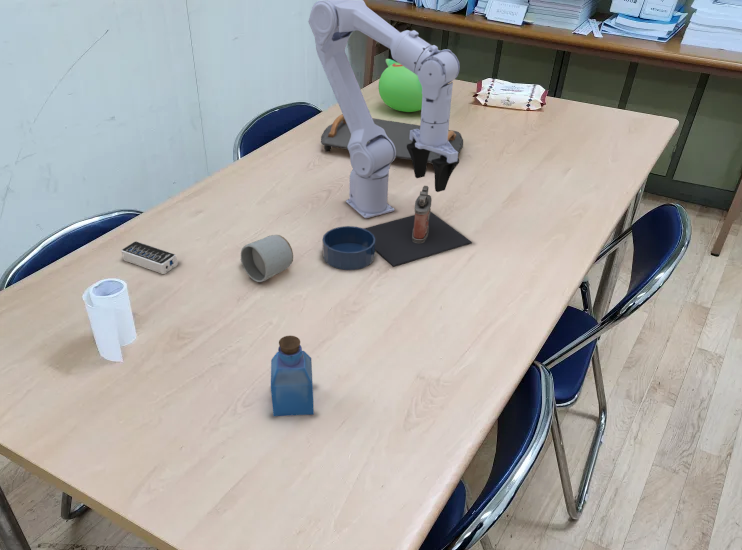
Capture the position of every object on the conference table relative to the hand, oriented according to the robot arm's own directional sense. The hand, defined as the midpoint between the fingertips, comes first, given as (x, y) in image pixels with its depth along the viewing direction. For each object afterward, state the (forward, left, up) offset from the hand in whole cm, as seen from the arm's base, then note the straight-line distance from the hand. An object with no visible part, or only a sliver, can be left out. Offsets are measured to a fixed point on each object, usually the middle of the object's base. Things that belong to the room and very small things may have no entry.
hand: (429, 183), depth 137 cm
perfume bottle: (+37, -50, -11) cm, 63 cm away
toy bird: (-64, +37, -11) cm, 75 cm away
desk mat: (+3, -5, -10) cm, 12 cm away
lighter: (+2, -3, -10) cm, 11 cm away
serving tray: (-41, +17, -11) cm, 46 cm away
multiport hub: (-14, -58, -11) cm, 61 cm away
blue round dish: (+3, -21, -10) cm, 24 cm away
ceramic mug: (0, -39, -11) cm, 41 cm away
